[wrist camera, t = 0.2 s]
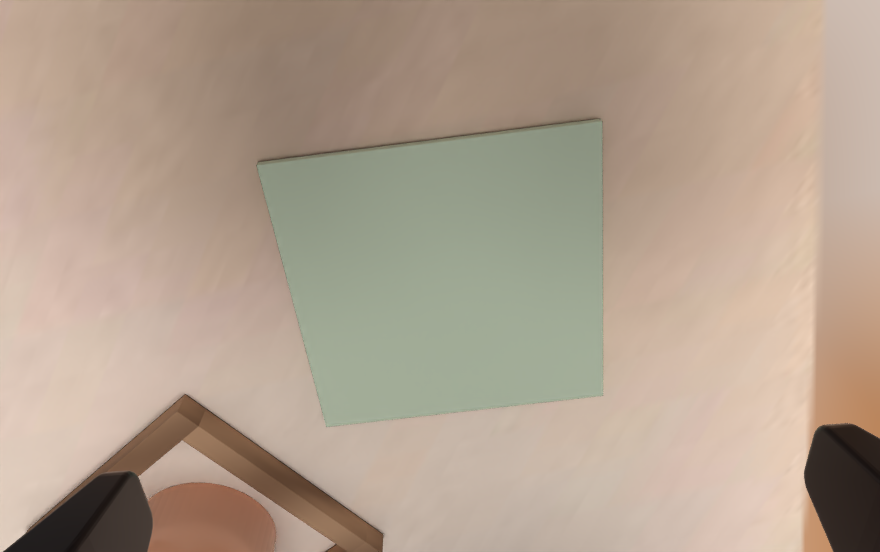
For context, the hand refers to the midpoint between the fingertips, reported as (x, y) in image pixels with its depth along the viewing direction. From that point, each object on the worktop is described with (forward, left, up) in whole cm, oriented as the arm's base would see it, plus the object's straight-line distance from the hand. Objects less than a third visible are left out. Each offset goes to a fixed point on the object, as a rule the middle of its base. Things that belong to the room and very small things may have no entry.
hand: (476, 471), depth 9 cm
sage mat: (-5, +1, -14) cm, 15 cm away
